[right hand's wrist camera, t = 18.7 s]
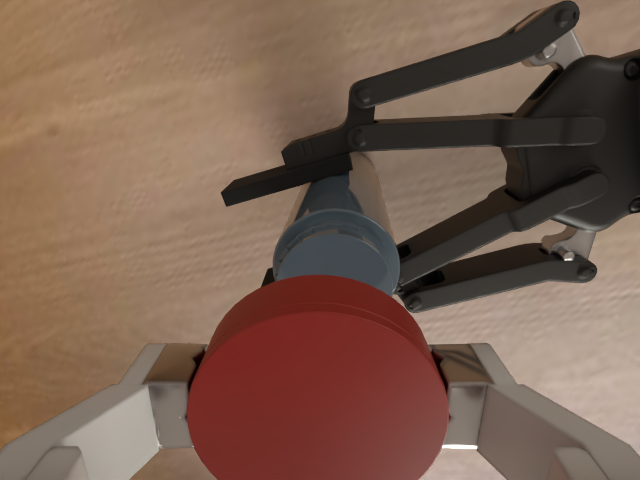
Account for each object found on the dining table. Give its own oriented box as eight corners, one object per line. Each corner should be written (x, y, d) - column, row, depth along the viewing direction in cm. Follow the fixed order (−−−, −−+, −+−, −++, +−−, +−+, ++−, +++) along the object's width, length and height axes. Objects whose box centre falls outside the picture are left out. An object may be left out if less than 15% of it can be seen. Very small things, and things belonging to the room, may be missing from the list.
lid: (298, 486, 12) (295, 548, 10) (160, 355, 10) (130, 404, 8) (471, 393, 10) (497, 447, 9) (344, 227, 9) (348, 257, 7)
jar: (316, 140, 27) (280, 205, 13) (387, 158, 27) (425, 243, 13) (299, 208, 29) (253, 328, 15) (366, 225, 29) (381, 359, 15)
